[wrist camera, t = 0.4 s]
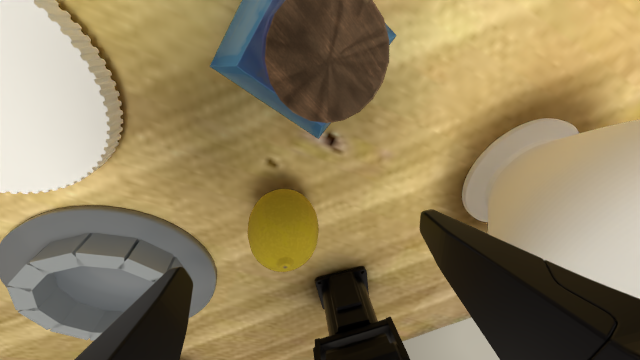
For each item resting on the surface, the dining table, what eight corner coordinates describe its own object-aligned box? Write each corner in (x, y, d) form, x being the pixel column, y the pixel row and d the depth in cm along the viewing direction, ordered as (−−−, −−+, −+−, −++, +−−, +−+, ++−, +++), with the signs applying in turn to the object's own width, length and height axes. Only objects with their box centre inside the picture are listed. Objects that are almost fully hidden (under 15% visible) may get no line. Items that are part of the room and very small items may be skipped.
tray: (240, 302, 29) (236, 327, 27) (94, 338, 28) (76, 367, 26) (165, 184, 20) (149, 206, 17) (-58, 234, 19) (-111, 265, 16)
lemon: (319, 180, 22) (338, 244, 15) (300, 224, 24) (310, 296, 18) (260, 165, 20) (252, 230, 13) (246, 214, 23) (233, 290, 16)
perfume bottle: (231, 56, 16) (151, 91, 6) (282, -40, 14) (296, -260, 4) (306, 110, 18) (343, 199, 8) (358, 36, 16) (492, 33, 6)
